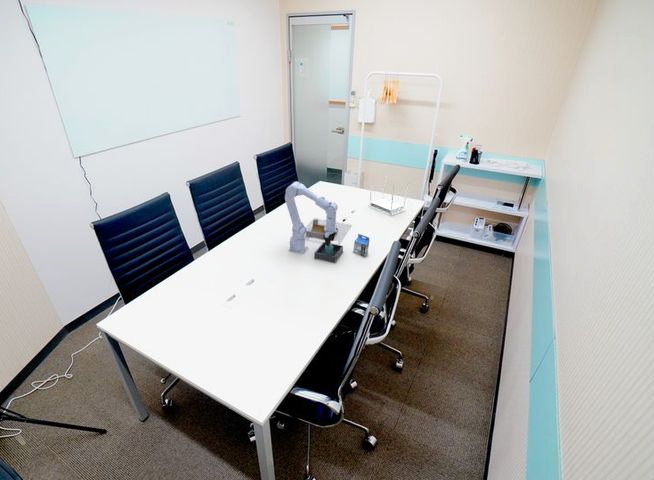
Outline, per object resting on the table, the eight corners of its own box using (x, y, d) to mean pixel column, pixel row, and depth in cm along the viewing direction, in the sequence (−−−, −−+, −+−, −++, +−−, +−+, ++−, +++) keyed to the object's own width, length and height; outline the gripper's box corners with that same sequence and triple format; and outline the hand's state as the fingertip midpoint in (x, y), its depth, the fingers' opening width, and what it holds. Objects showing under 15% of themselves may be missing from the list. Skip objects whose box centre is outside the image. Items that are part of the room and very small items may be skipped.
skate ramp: (296, 238, 232) (296, 228, 228) (314, 218, 259) (314, 209, 255) (337, 245, 222) (337, 235, 218) (350, 225, 250) (351, 216, 246)
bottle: (323, 255, 211) (324, 243, 206) (326, 252, 215) (327, 240, 210) (331, 257, 209) (331, 245, 205) (333, 253, 213) (334, 241, 208)
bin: (314, 258, 208) (314, 252, 206) (323, 247, 220) (323, 241, 218) (335, 263, 204) (335, 257, 201) (342, 251, 216) (343, 245, 214)
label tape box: (352, 252, 215) (354, 235, 209) (356, 250, 218) (358, 233, 211) (364, 257, 210) (366, 239, 204) (367, 254, 213) (370, 237, 206)
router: (382, 201, 291) (386, 174, 278) (405, 210, 274) (410, 182, 261) (367, 206, 281) (370, 178, 268) (389, 216, 264) (394, 186, 251)
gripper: (333, 229, 193) (332, 249, 200) (340, 219, 204) (339, 239, 212) (321, 226, 195) (321, 247, 203) (330, 217, 207) (329, 237, 214)
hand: (329, 243), depth 207 cm, fingers open, 7 cm apart
